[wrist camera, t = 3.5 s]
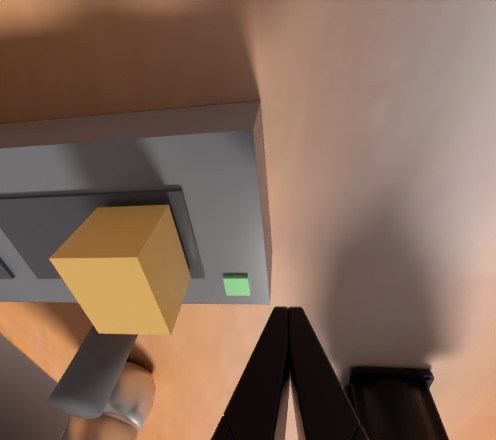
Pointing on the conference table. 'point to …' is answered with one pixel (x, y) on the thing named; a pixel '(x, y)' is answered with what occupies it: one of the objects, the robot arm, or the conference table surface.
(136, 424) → the plastic bottle
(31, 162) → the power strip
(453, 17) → the conference table surface
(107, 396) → the cylinder
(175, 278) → the toggle amber
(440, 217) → the conference table surface
